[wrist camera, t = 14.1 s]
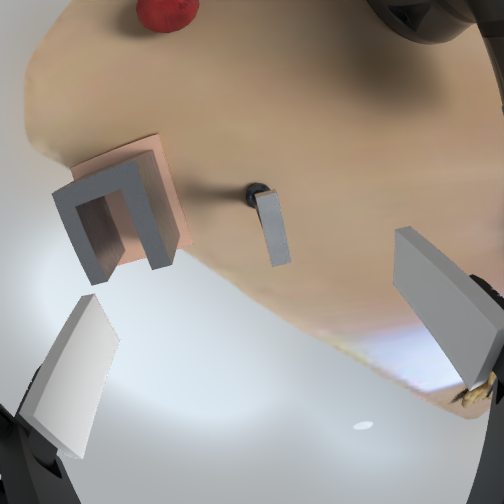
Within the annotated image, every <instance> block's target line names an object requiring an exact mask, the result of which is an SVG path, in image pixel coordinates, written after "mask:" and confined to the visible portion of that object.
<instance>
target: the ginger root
mask: <svg viewBox="0 0 504 504" xmlns="http://www.w3.org/2000/svg"><path fill="white" fill-rule="evenodd" d="M495 378H496V375H495V374H494V372H493V371H492V373H491V374H490V375H489V377H488V379H487V381H486V382H485V383H484V384H482V385H480V386H478V387H476V388H475V389H473V390H471V391H467V393H466V394H465V396H464V398H463V400H462V406H463V407H465V408H468V407H469V406H470V405H471V404H472V403H475V402H479V401H480V400H485V399H492V393H493V391H492V392H491V394H490V396H489V397H486V395H487V392H488V390H489V389H490V387H491V385H492V383H493V382H494V380H495Z"/></svg>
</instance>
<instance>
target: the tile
mask: <svg viewBox="0 0 504 504" xmlns="http://www.w3.org/2000/svg"><path fill="white" fill-rule="evenodd" d="M150 150H153V151H154V154H155V158H156V161H157V164H158V168H159V171H160V174H161V177H162V181H163V184H164V187H165V190H166V193H167V196H168V199H169V202H170V206H171V209H172V212H173V215H174V218H175V221H176V223H177V226H178V229H179V232H180V238H179V242H178V245H177V249H180V248H184V247H187V246H191V245H193V241H192V238H191V235H190V232H189V229H188V226H187V223H186V220H185V217H184V214H183V211H182V207H181V204H180V201H179V198H178V195H177V192H176V189H175V186H174V182H173V179H172V176H171V173H170V169H169V166H168V163H167V159H166V156H165V153H164V149H163V146H162V143H161V139H160V136H159V134H156V135H153V136H150V137H147V138H144V139H141V140H138V141H136V142H133V143H130V144H127V145H125V146H122V147H120V148H117V149H114V150H112V151H109V152H107V153H104V154H102V155H100V156H97V157H95V158H92V159H90V160H88V161H85V162H83V163H81V164H79V165H76V166H74V167H72V168H70V169H71V172H72V174H73V178H74V180H76V179H78V178H80V177H82V176H84V175H86V174H89V173H91V172H94V171H96V170H99V169H101V168H104V167H106V166H109V165H111V164H114V163H117V162H119V161H122V160H125V159H127V158H130V157H133V156H136V155H139V154H142V153H144V152H147V151H150ZM104 196H105V199H106V201H107V204H108V207H109V209H110V212H111V215H112V217H113V220H114V223H115V225H116V228H117V230H118V233H119V235H120V238H121V240H122V243H123V245H124V247H125V250H126V251H125V253H124V254H123V256H122V258H121V259H120V261H119V263H118V264H117V265H121V264H125V263H128V262H132V261H135V260H139V259H143V258H147V256H146V254H145V251H144V249H143V246H142V244H141V241H140V239H139V236H138V234H137V231H136V228H135V226H134V223H133V221H132V218H131V215H130V212H129V210H128V207H127V204H126V201H125V199H124V196H123V193H122V190H118V191H115V192H112V193H110V194H107V195H104Z"/></svg>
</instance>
